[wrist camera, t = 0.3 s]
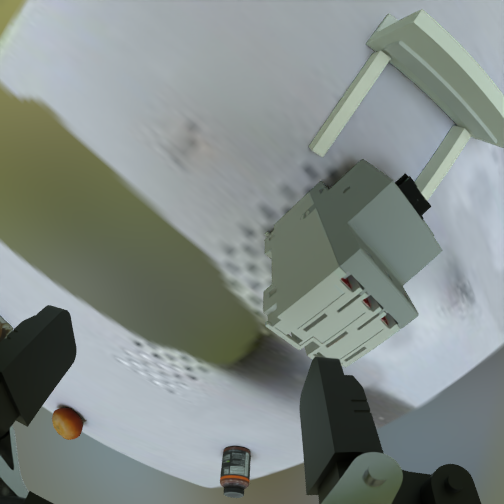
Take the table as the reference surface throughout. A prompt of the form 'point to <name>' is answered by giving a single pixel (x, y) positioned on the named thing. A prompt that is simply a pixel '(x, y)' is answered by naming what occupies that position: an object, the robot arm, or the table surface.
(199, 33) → the table surface
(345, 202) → the circuit breaker
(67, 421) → the fruit
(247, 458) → the supplement bottle
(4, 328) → the coffee box
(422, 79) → the rail bracket
